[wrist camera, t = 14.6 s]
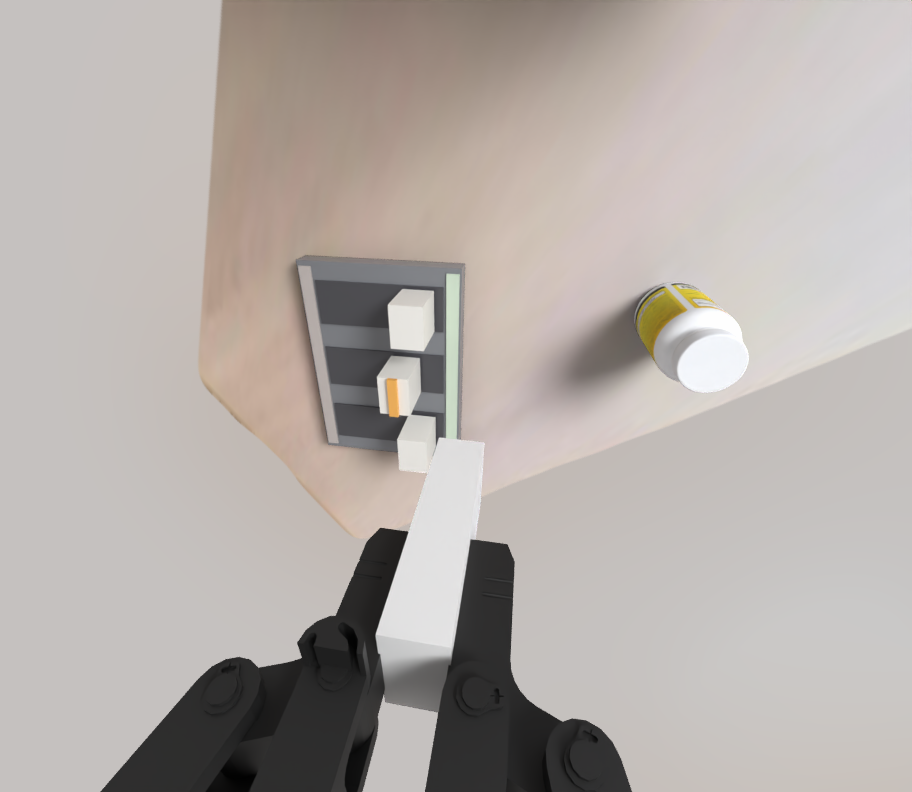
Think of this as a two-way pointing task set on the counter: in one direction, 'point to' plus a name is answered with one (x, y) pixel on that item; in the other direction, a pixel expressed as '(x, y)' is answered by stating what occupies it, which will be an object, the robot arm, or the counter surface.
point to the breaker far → (417, 443)
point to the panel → (380, 344)
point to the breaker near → (411, 319)
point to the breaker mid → (399, 386)
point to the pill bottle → (691, 337)
